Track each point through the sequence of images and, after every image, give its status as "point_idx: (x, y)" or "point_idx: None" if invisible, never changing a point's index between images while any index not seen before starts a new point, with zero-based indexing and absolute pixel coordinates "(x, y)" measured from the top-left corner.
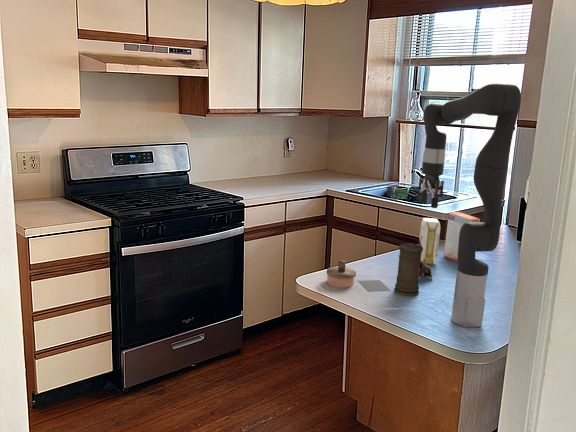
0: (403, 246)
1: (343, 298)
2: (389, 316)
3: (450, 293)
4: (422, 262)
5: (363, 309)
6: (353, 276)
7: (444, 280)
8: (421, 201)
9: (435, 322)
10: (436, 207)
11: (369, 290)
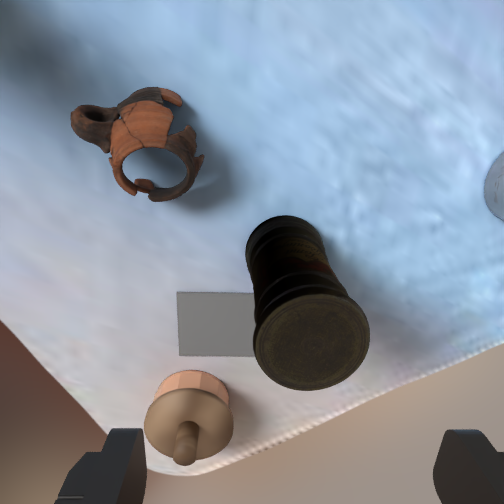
0: (314, 382)
1: (293, 417)
2: (421, 357)
3: (317, 95)
4: (149, 146)
5: (366, 396)
6: (224, 404)
7: (180, 34)
8: (142, 498)
9: (493, 267)
10: (474, 437)
11: None
